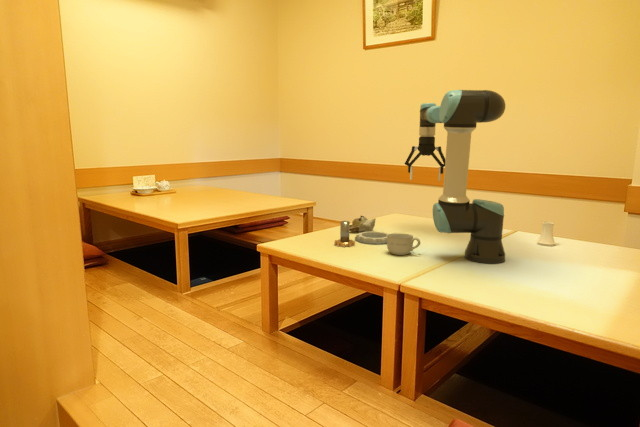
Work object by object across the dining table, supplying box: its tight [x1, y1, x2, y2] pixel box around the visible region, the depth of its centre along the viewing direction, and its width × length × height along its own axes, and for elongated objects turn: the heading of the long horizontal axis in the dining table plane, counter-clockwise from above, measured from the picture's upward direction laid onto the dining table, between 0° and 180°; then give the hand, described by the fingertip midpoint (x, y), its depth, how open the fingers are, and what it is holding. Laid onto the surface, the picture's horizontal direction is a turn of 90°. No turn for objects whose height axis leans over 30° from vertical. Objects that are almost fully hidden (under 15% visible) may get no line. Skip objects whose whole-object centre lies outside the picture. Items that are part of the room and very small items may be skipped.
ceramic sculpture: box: [349, 215, 376, 233], centre depth 222 cm, size 11×9×15 cm
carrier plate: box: [354, 230, 389, 246], centre depth 205 cm, size 18×18×2 cm
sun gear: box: [334, 220, 356, 248], centre depth 195 cm, size 9×9×10 cm
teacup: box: [386, 232, 421, 256], centre depth 180 cm, size 14×11×8 cm
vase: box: [536, 221, 557, 247], centre depth 197 cm, size 8×8×10 cm
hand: (425, 180), depth 215 cm, fingers open, 13 cm apart
